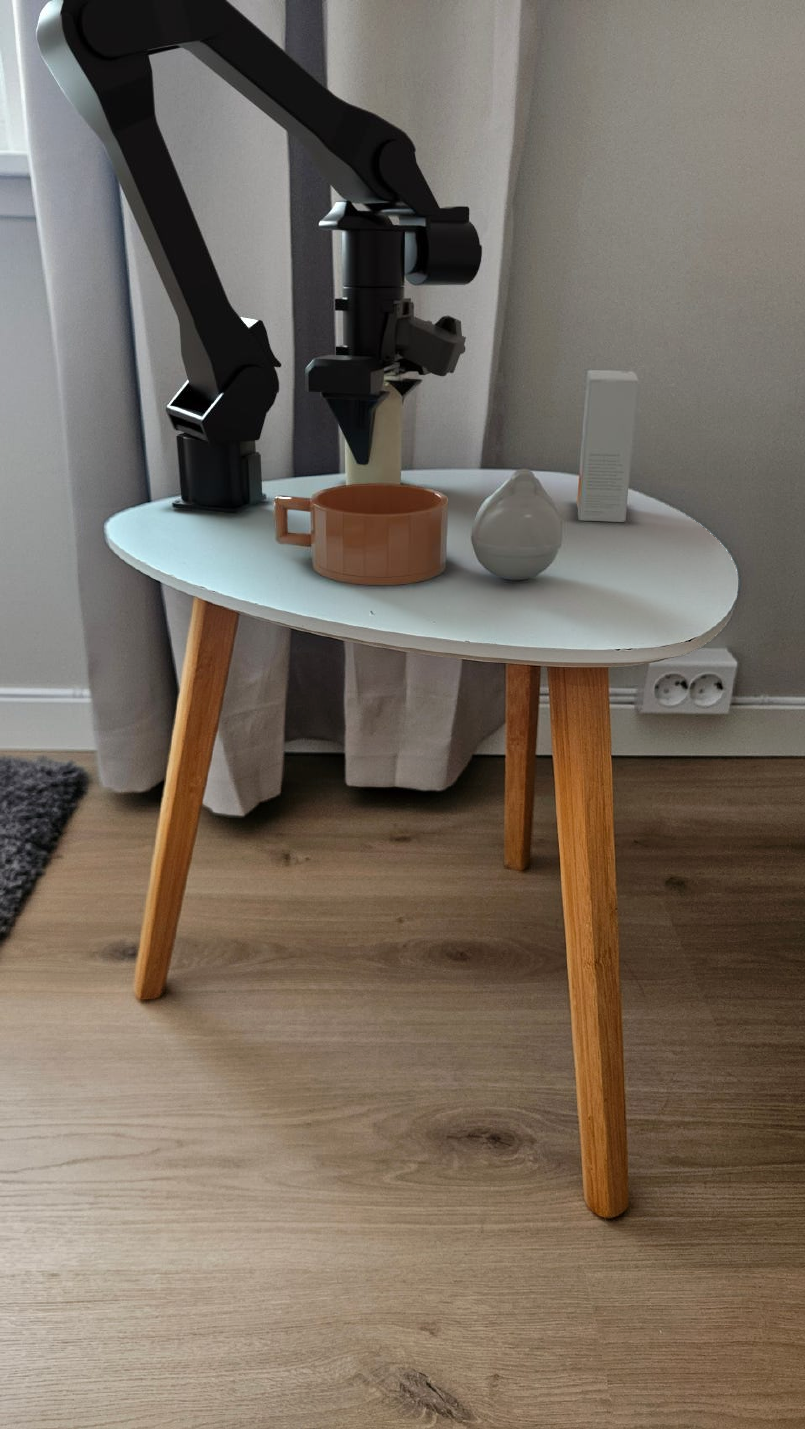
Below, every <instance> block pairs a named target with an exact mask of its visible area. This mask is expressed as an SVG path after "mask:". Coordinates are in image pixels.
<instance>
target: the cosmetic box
mask: <svg viewBox="0 0 805 1429" xmlns="http://www.w3.org/2000/svg"><path fill="white" fill-rule="evenodd" d="M585 386H586V387H585V395H584V396H585V399H584V407H583V408H584V409H583V421H582V422H583V423H582V433H581V434H582V435H581V445H580V446H581V447H580V458H579V459H580V460H579V470H578V483H577V497H576V505H577V515H578V516H577V519H578V520H579V521H583V522H585V521H586V522H587V521H588V522H609V523H624V522H626V518H627V508H628V498H629V487H630V479H631V467H632V458H633V449H634V439H635V430H636V429H635V428H636V421H637V408H638V399H639V389H640V380H639V377H638V375H637V374H636V373H635V371H627V370H626V371H625V370H602V369H599V370H597V369H595V370H593V369H592V370H591V369H590V370H589V369H588V371H587V375H586V385H585Z"/></svg>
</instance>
